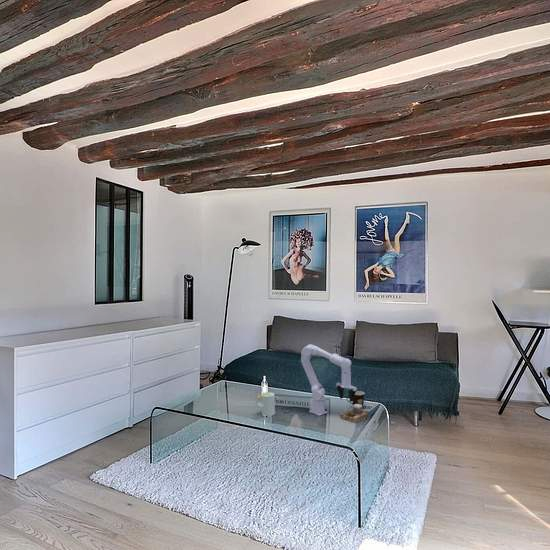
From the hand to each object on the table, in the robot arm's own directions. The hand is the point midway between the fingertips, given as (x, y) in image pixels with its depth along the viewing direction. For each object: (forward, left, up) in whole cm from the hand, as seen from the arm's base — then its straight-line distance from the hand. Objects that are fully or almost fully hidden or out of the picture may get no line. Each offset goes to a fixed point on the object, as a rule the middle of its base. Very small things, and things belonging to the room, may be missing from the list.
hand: (346, 399), depth 262 cm
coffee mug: (-5, +16, -11) cm, 20 cm away
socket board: (+5, +2, -10) cm, 12 cm away
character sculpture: (-38, -34, -11) cm, 52 cm away
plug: (+5, +5, -10) cm, 13 cm away
